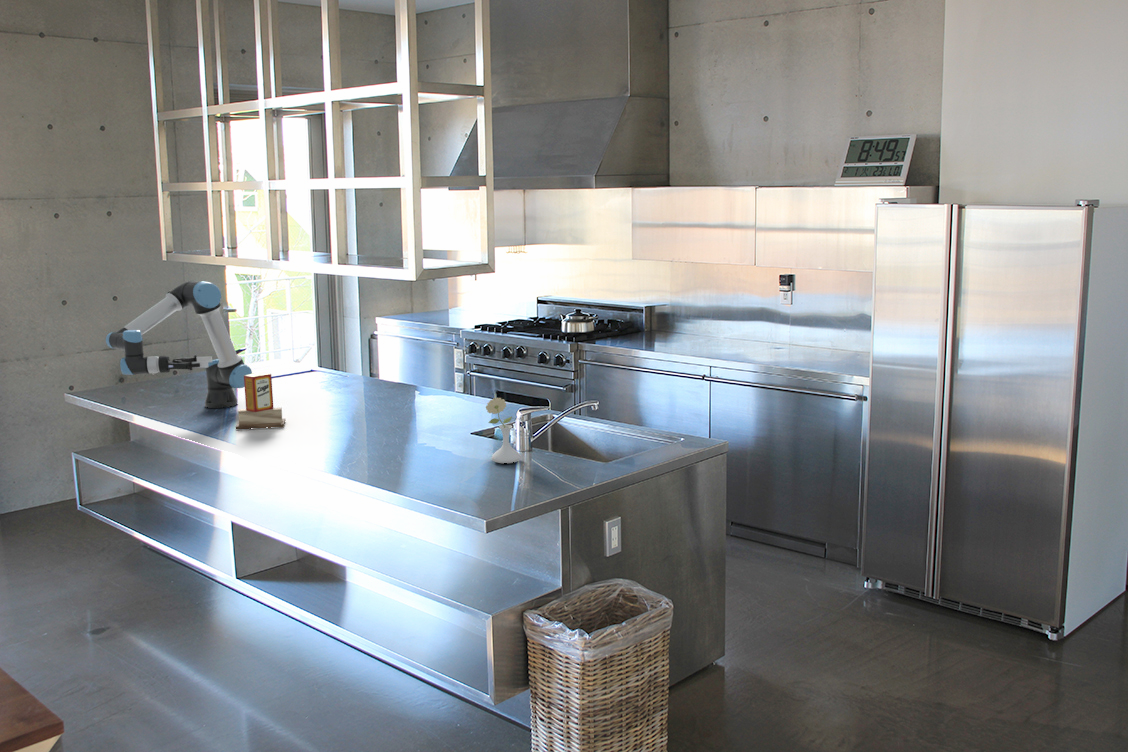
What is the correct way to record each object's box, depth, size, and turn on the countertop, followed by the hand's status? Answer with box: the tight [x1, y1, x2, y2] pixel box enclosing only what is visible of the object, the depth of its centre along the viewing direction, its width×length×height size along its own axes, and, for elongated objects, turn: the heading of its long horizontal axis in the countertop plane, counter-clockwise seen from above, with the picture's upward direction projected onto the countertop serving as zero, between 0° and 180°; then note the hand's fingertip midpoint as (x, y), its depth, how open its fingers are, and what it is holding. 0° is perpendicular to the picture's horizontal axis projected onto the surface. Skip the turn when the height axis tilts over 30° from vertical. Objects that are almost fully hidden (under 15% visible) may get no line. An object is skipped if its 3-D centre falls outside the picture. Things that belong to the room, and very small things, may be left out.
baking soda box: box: [244, 372, 274, 412], centre depth 415 cm, size 10×6×16 cm
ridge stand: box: [235, 407, 286, 430], centre depth 418 cm, size 12×20×8 cm, turn 102°
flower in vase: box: [485, 397, 522, 464], centre depth 354 cm, size 13×11×25 cm
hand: (210, 361), depth 419 cm, fingers open, 13 cm apart
